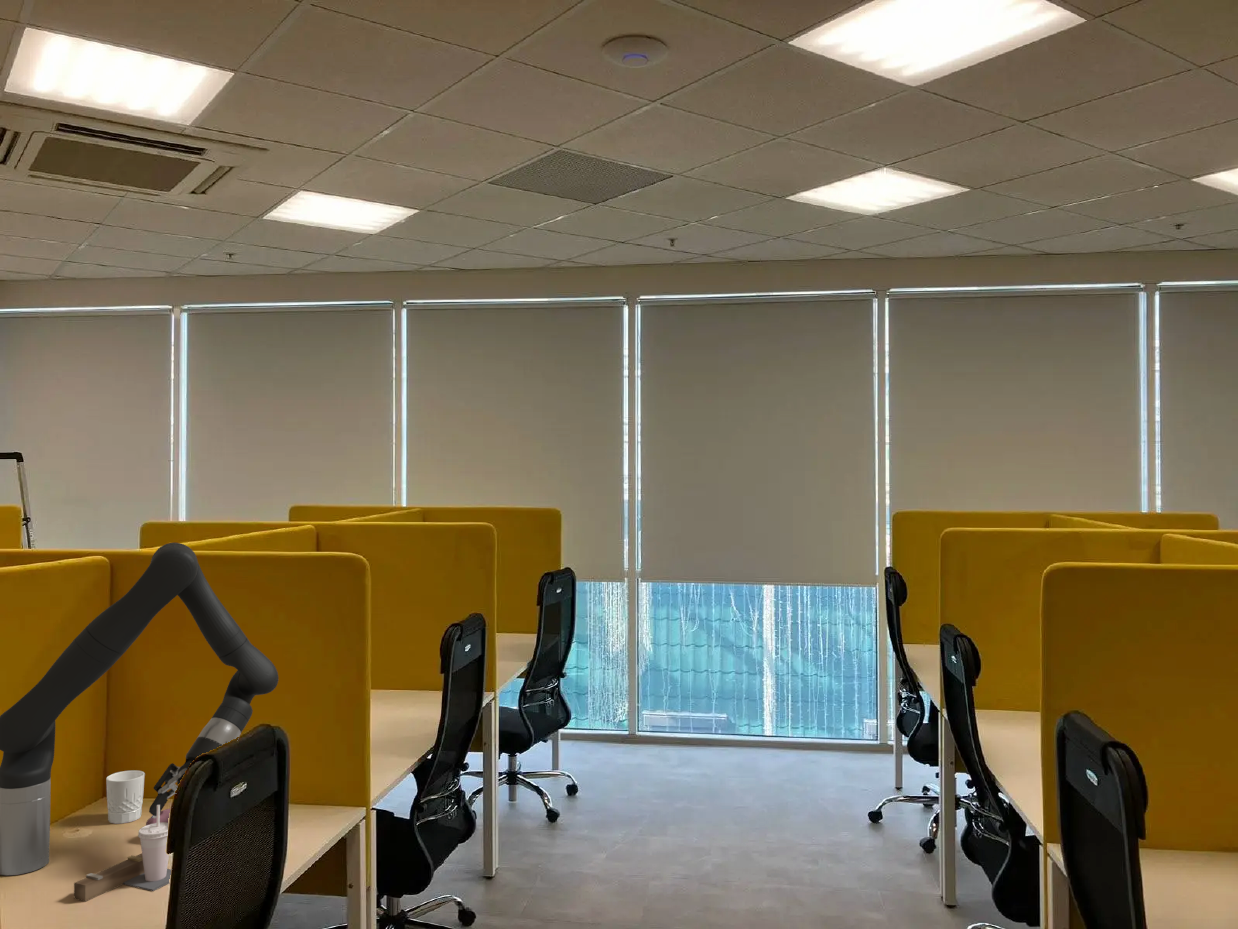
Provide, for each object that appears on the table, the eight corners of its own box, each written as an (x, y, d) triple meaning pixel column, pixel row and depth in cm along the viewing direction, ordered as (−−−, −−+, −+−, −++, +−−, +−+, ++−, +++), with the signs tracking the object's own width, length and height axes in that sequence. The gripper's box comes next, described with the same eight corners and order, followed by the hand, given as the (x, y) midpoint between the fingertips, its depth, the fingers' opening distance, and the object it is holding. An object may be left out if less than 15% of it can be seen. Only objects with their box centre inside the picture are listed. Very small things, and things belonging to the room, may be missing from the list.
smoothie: (180, 871, 182) (181, 801, 182) (161, 885, 176) (162, 812, 176) (150, 869, 183) (151, 800, 183) (130, 883, 176) (131, 811, 176)
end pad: (122, 884, 177) (122, 882, 177) (157, 868, 184) (157, 866, 184) (152, 891, 174) (152, 889, 174) (186, 874, 181) (187, 873, 181)
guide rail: (73, 898, 170) (73, 880, 170) (146, 865, 185) (146, 849, 185) (85, 901, 169) (85, 883, 169) (157, 868, 184) (158, 851, 184)
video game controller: (191, 836, 205) (185, 805, 207) (200, 831, 203) (194, 800, 205) (147, 849, 197) (140, 817, 199) (155, 845, 195) (149, 812, 197)
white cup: (110, 814, 214) (110, 772, 214) (147, 811, 216) (147, 769, 216) (101, 826, 206) (102, 782, 206) (140, 823, 208) (140, 779, 209)
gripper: (179, 732, 193) (131, 803, 182) (230, 739, 187) (183, 813, 177) (198, 750, 198) (153, 821, 187) (249, 758, 192) (205, 831, 181)
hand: (168, 817), depth 182 cm, fingers open, 8 cm apart
